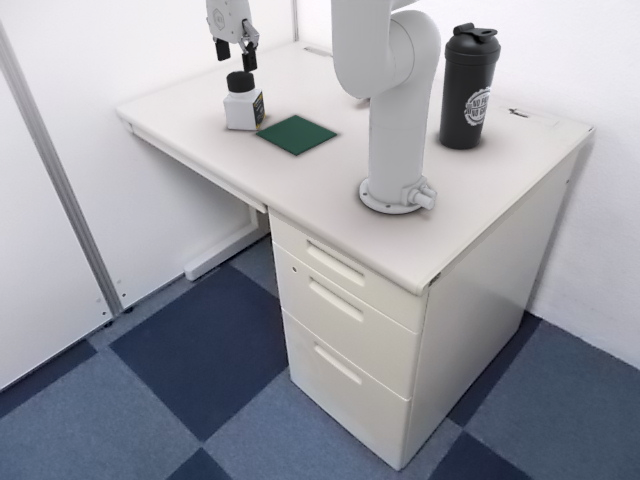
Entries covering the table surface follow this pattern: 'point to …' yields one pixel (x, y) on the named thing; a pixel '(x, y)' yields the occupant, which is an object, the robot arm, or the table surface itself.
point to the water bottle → (467, 84)
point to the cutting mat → (296, 134)
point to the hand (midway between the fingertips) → (237, 64)
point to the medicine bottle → (243, 102)
